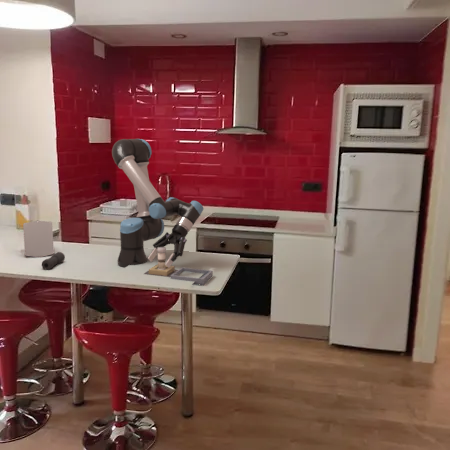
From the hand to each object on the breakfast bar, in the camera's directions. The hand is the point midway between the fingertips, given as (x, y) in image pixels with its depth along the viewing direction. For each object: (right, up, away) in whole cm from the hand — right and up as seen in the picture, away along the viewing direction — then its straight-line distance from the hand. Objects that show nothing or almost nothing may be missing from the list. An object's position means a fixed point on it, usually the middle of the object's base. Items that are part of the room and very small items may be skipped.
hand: (158, 263), depth 225 cm
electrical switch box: (-71, +2, +36) cm, 80 cm away
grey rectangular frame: (+16, -7, -2) cm, 18 cm away
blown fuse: (+1, -5, +3) cm, 5 cm away
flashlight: (-55, -3, +14) cm, 57 cm away
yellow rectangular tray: (+1, -6, +3) cm, 7 cm away
